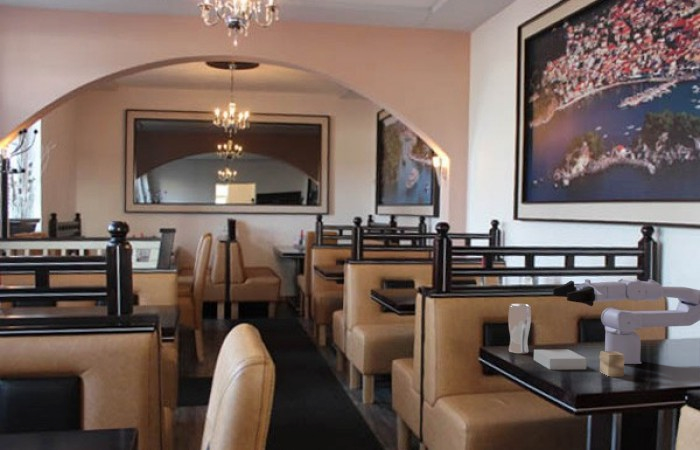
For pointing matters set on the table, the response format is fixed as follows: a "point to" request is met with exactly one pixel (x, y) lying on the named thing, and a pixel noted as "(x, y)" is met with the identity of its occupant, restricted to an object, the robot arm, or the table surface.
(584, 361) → the ceramic box
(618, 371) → the beech block
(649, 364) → the table surface
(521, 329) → the beer glass
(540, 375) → the table surface
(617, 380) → the table surface
